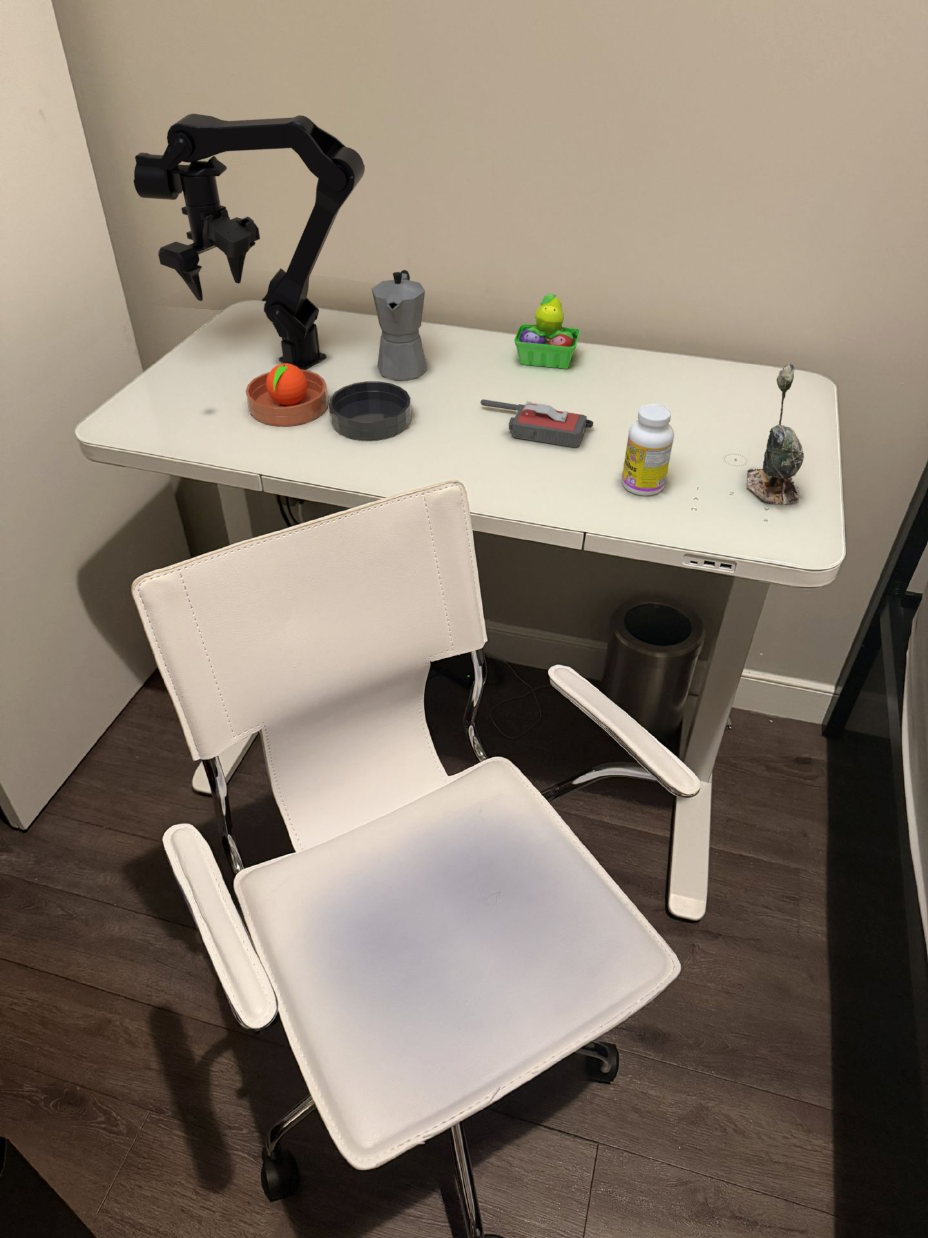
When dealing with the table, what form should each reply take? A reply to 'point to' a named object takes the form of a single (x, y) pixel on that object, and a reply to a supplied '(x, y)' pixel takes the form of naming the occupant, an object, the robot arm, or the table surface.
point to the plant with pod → (779, 457)
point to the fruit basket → (547, 337)
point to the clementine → (286, 384)
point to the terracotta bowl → (287, 415)
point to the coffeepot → (400, 327)
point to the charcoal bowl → (370, 410)
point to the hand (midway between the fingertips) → (219, 291)
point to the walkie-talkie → (544, 423)
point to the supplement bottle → (648, 450)
